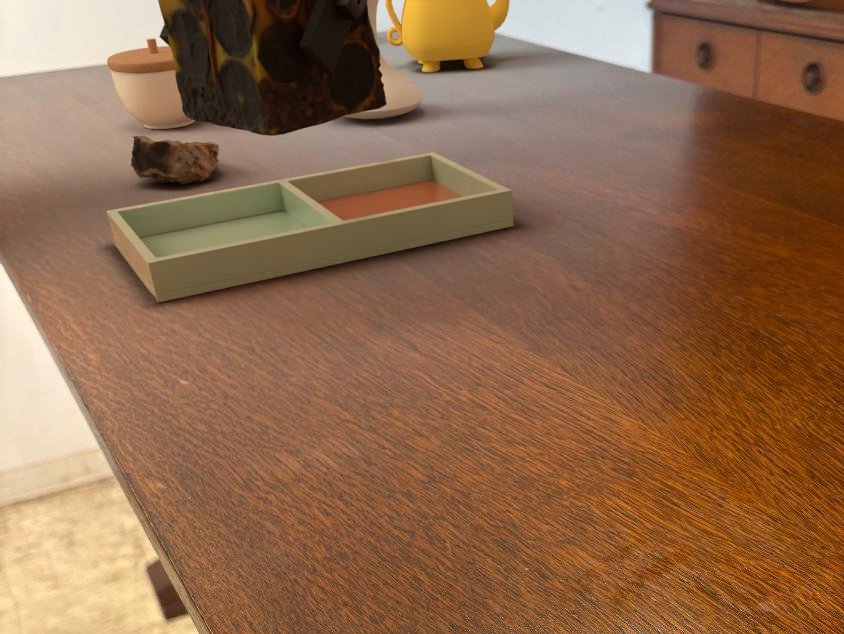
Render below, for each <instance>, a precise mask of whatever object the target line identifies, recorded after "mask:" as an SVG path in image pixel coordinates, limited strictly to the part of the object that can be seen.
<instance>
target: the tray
mask: <svg viewBox="0 0 844 634" xmlns="http://www.w3.org/2000/svg"><path fill="white" fill-rule="evenodd" d="M106 216H107V219H108V224H109V227H110V230H111V234H112V238H113V242H114V246H115V248H116V249H117V250H118V252H119V253H120V255H121V256H122V257H123V259H124V260H125V261H126V262H127V264H128V265H129V266H130V268H131V269H132V270H133V272H134V273H135V275H136V276H137V277H138V279H140V281H141V282H142V283H143V285H144V287H146V289H147V290H148V291H149V293H150V294H151V295H152V297H153V298H154V299H155V301H156V302H157V303H158V304H159V303H163V302H168V301H173V300H178V299H182V298H187V297H192V296H196V295H200V294H206V293H210V292H214V291H218V290H219V291H220V290H223V289H228V288H233V287H238V286H242V285H247V284H251V283H256V282H260V281H265V280H270V279H274V278H280V277H284V276H288V275H289V276H290V275H294V274H298V273H302V272H307V271H311V270H316V269H317V270H318V269H320V268H326V267H330V266H335V265H340V264H344V263H349V262H354V261H358V260H359V261H360V260H363V259H368V258H374V257H376V256H381V255H386V254H390V253H396V252H400V251H404V250H405V251H406V250H410V249H413V248H414V249H415V248H419V247H423V246H428V245H432V244H439V243H443V242H447V241H451V240H456V239H460V238H461V239H462V238H465V237H469V236H475V235H479V234H484V233H489V232H492V231H497V230H503V229H507V228H512V227H514V207H513V190H512V189H510V188H508V187H506V186H504V185H501V184H500V183H498V182H495V181H493V180H492V179H490V178H488V177H485V176H484V175H481V174H479V173H477V172H476V171H473V170H471V169H469V168H467V167H465V166H462V165H461V164H459V163H457V162H455V161H453V160H451V159H449V158H447V157H445V156H443V155H441V154H438V153H436V152H435V151H433V152H428V153H422V154H417V155H411V156H404V157H399V158H394V159H388V160H383V161H378V162H372V163H367V164H360V165H356V166H355V165H354V166H350V167H349V166H348V167H344V168H338V169H333V170H327V171H322V172H316V173H310V174H304V175H300V176H293V177H288V178H283V179H277V180H271V181H266V182H260V183H253V184H249V185H244V186H238V187H232V188H227V189H222V190H221V189H220V190H216V191H209V192H204V193H198V194H193V195H187V196H182V197H181V196H180V197H177V198H171V199H165V200H160V201H154V202H149V203H143V204H137V205H132V206H131V205H130V206H125V207H119V208H114V209H110V210H106Z"/></svg>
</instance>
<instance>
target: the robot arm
mask: <svg viewBox="0 0 844 634" xmlns="http://www.w3.org/2000/svg"><path fill="white" fill-rule="evenodd" d="M367 1H368V0H316V3H315V6H314V8H313V11H312V14H311V16H310V19H309V21H308V24H307V27H306V29H305V32H304V34H303V37H302V40H301V42H300V45H299V46H300V47H301V49H302V50H303V51H304V52H305V53H306V54H307V55H308V56H309V58H310V59H311V60H312V61H313V62H314V63H315V64H316V65H317V67H318V68H319V69H320V70H321V71H322V72H323V73H329V74H333V72H334V69H335V66H336V64H337V61H338V58H339V56H340V53H341V50H342V48H343V45H344V42H345V40H346V37H347V34H348V32H349V29H350V26H351V24H352V21H353V20H358V19H359V18H360V16H361V15H362V14H363V11H364V9H365V5H366V3H367ZM158 37H159V38H160V39H161V40H162V41H163V42H164V43H165V44H166V45H167V46H170V44H169V41H168V30H167V28H166V27H165V24H164V23H163V27H162V29H161V31H160V34H159V36H158Z"/></svg>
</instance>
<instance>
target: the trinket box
mask: <svg viewBox="0 0 844 634" xmlns="http://www.w3.org/2000/svg"><path fill="white" fill-rule="evenodd" d="M146 44H147V47H143V48H142V47H141V48H135V49H130V50H124V51H121V52H117V53H114V54H112V55H109V57H107V60H106V63H107V67H108V69H109V70H110V74H111V79H112V83H113V85H114V88H115V92H116V94H117V96H118V98H119V100H120V102H121V104H122V105H123V107H124V109H125V110H126V111H127V112H128V113H129V115H131V116H132V117H133V118H134V119H135V120H136V121H138V122H139V123H141V124H142V126H143V127H144V128H145V129H148V130H149V129H150V130H169V129H178V128H182V127H187V126H189V125H191V124H194V123H195V122H196V120H192V119H190V118H188V117H186V116H185V114H184V113H183V110H182V101H181V97H180V93H179V91H178V87H177V82H176V77H175V76H176V72H175V63H174V59H173V54H172V50H171V47H170V46H169V45H164V46H163V45H161V46H158V44H157V39H156V38H154V37H153V38H147V39H146Z"/></svg>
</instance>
